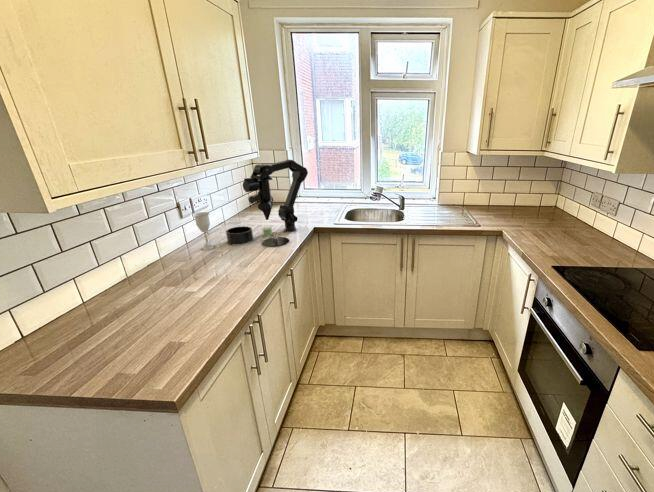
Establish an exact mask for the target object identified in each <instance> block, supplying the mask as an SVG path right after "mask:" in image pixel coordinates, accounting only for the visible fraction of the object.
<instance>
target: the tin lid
mask: <svg viewBox="0 0 654 492" xmlns="http://www.w3.org/2000/svg"><path fill="white" fill-rule="evenodd" d="M289 242H290V239H289V237H285V236H278V231H272V237H269V238H266V239H264V240H262V245H263V246H264V247H269V248H275V247H276V248H277V247H282V246H285V245H287V244H289Z"/></svg>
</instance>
